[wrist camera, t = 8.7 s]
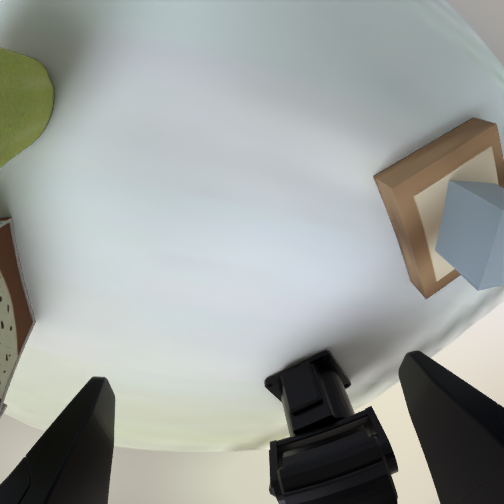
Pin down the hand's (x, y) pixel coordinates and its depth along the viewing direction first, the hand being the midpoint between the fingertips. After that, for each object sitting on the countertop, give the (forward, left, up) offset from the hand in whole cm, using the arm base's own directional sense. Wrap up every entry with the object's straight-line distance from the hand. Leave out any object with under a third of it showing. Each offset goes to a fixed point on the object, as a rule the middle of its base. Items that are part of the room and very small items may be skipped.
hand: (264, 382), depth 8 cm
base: (-8, -14, -13) cm, 20 cm away
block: (-8, -14, -10) cm, 19 cm away
